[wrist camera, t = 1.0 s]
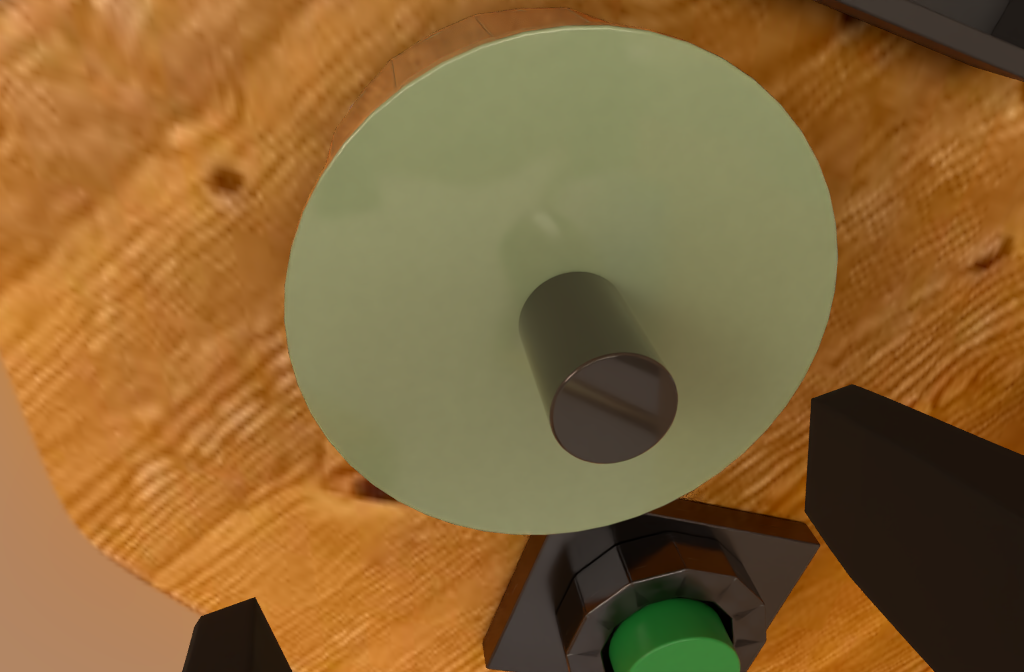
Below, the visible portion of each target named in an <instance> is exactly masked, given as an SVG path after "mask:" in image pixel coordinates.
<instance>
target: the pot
mask: <svg viewBox="0 0 1024 672" xmlns="http://www.w3.org/2000/svg"><path fill="white" fill-rule="evenodd" d="M570 22H605V23H608V22H606V21H604V20H601V19H597V18H594V17H591V16H589V15H586V14H583V13H580V12H578V11H575V10H572V9H570V8H564V7H562V8H517V9H511V10H504V11H497V12H490V13H483V14H475V15H474V16H470V17H468V18H466V19H464V20H462V21H458V22H456V23H454V24H452V25H450V26H447V27H445V28H443V29H441V30H438V31H436V32H434V33H432V34H430V35H428V36H427V37H425V38H424V39H422V40H420V41H419V42H417V43H416V44H414V45H412V46H411V47H409V48H408V49H406V50H405V51H404V52H402V53H401V54H399V55H397V56H395V57H394V58H393V59H392V60H389V61H388V63H387V64H386V65H385V67H384V68H383V69H382V70H381V71H380V72H379V73H378V75H377V76H376V77H375V78H374V79H373V80H372V81H371V82H370V83H369V84H368V86H367V87H366V88H365V89H364V90H363V91H362V92H361V94H360V95H359V97H358V98H357V100H356V101H355V103H354V104H353V106H352V107H351V109H350V110H349V112H348V113H347V115H346V116H345V117H344V119H343V120H342V121H341V122H340V124H339V125H338V126H337V127H336V129H335V132H334V134H333V137H332V141H331V145H330V149H329V153H328V157H327V161H326V163H327V162H328V160H329V159H330V158H331V156H332V155H333V153H334V152H335V150H336V149H337V147H338V146H339V144H340V143H341V142H342V140H343V139H344V137H345V136H346V135H347V134H348V133H349V132H350V131H351V130H352V129H353V128H354V126H355V125H356V124H357V123H358V122H359V121H360V120H361V119H362V118H363V117H364V116H365V114H366V113H367V112H368V111H369V110H370V109H371V108H372V107H373V106H374V105H376V104H377V103H378V102H379V101H380V100H382V99H383V98H384V97H385V96H386V95H388V94H389V93H390V92H391V91H392V90H394V89H395V88H396V87H397V86H398V85H400V84H401V83H402V82H403V81H405V80H406V79H408V78H409V77H411V76H413V75H414V74H416V73H417V72H419V71H421V70H422V69H424V68H426V67H427V66H429V65H430V64H432V63H434V62H435V61H437V60H438V59H440V58H442V57H444V56H447V55H449V54H451V53H453V52H455V51H458V50H460V49H462V48H464V47H467V46H469V45H471V44H473V43H476V42H478V41H480V40H484V39H487V38H491V37H494V36H497V35H501V34H504V33H508V32H511V31H514V30H518V29H522V28H529V27H536V26H542V25H549V24H556V23H570ZM325 165H326V164H325Z"/></svg>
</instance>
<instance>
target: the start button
mask: <svg viewBox="0 0 1024 672" xmlns="http://www.w3.org/2000/svg"><path fill="white" fill-rule="evenodd" d="M609 657H610V660H611V664H612V667H613V670H614V672H740V660H739V657H738V655H737V653H736V651H735V648H734V646H733V644H732V642H731V640H730V638H729V636H728V634H727V632H726V630H725V628H724V626H723V624H722V622H721V619H720V617H719V616H718V614H717V613H716V612H715V611H714V610H713V609H712V608H711V607H709V606H708V605H706V604H704V603H703V602H700V601H697V600H693V599H687V598H673V599H669V600H665V601H661V602H657V603H653V604H649V605H646V606H644V607H642V608H640V609H639V610H638V611H636V612H635V613H633V614H632V615H631V616H629V617H628V618H626V619H625V620H624V621H623V622H622V623H621V624H620V625H619V626H618V628H617V629H616V631H615V632H614V634H613V636H612V639H611V642H610V646H609Z"/></svg>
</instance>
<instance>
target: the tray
mask: <svg viewBox="0 0 1024 672" xmlns="http://www.w3.org/2000/svg"><path fill="white" fill-rule="evenodd" d="M813 1H816V2H818V3H820V4H823V5H825V6H828V7H830V8H833V9H835V10H837V11H840V12H842V13H845V14H847V15H850V16H852V17H854V18H857V19H859V20H862V21H864V22H867V23H869V24H871V25H874V26H876V27H879V28H881V29H884V30H886V31H888V32H891V33H893V34H896V35H898V36H901V37H903V38H905V39H908V40H910V41H913V42H915V43H918V44H920V45H922V46H925V47H927V48H930V49H932V50H935V51H937V52H939V53H942V54H944V55H947V56H949V57H952V58H954V59H956V60H959V61H961V62H964V63H966V64H969V65H971V66H973V67H976V68H979V69H983V70H986V71H989V72H993V73H996V74H999V75H1003V76H1006V77H1009V78H1013V79H1016V80H1020V81H1023V82H1024V0H813Z"/></svg>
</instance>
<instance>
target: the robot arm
mask: <svg viewBox="0 0 1024 672" xmlns="http://www.w3.org/2000/svg"><path fill="white" fill-rule="evenodd" d="M805 513H806V514H807V516H808V517H809V519H810V520H811V522H812V523H813V525H814V526H815V527H816V529H817V530H818V532H819V533H820V535H821V536H822V538H823V539H824V541H825V542H826V544H827V545H828V547H829V548H830V550H831V551H832V552H833V554H834V555H835V557H836V558H837V559H838V561H839V562H840V564H841V565H842V566H843V568H844V569H845V570H846V572H847V573H848V575H849V576H850V577H851V578H852V580H853V581H854V582H855V583H856V584H857V585H858V587H859V588H860V589H861V590H862V591H863V592H864V593H865V595H866V596H867V597H868V598H869V599H870V600H871V601H872V603H873V604H874V605H875V606H876V607H877V608H878V609H879V610H880V612H881V613H882V614H883V615H884V616H885V617H886V618H887V619H888V621H889V622H890V623H891V624H892V625H893V626H894V627H895V628H896V629H897V631H898V632H899V633H900V634H901V635H902V636H903V637H904V638H905V639H906V641H907V642H908V643H909V644H910V645H911V646H912V647H913V648H914V649H915V651H916V652H917V653H918V654H919V655H920V656H921V657H922V658H923V659H924V660H925V662H926V663H927V664H928V665H929V666H930V667H931V668H932V669H933V670H934V672H1024V455H1021V454H1019V453H1016V452H1014V451H1011V450H1009V449H1007V448H1004V447H1002V446H999V445H997V444H995V443H992V442H990V441H987V440H985V439H983V438H980V437H978V436H976V435H973V434H971V433H969V432H966V431H964V430H962V429H959V428H957V427H954V426H952V425H950V424H947V423H945V422H943V421H940V420H938V419H936V418H933V417H931V416H929V415H926V414H924V413H922V412H919V411H917V410H915V409H912V408H910V407H908V406H905V405H903V404H901V403H898V402H896V401H893V400H891V399H889V398H886V397H884V396H881V395H879V394H876V393H874V392H872V391H869V390H866V389H864V388H861V387H859V386H856V385H853V384H851V385H849V386H846V387H843V388H840V389H837V390H835V391H832V392H829V393H826V394H823V395H821V396H818V397H815V398H812V399H811V414H810V431H809V448H808V465H807V481H806V498H805ZM182 672H292V670H291V668H290V666H289V664H288V662H287V660H286V658H285V656H284V654H283V652H282V650H281V648H280V646H279V644H278V642H277V640H276V638H275V636H274V634H273V632H272V630H271V628H270V626H269V624H268V622H267V620H266V618H265V616H264V614H263V612H262V610H261V608H260V606H259V604H258V602H257V600H256V598H255V597H254V598H251V599H248V600H246V601H243V602H240V603H237V604H234V605H232V606H229V607H226V608H223V609H220V610H218V611H215V612H212V613H209V614H206V615H204V616H201V617H200V619H199V621H198V622H197V624H196V625H195V627H194V630H193V634H192V638H191V642H190V645H189V649H188V653H187V656H186V660H185V664H184V667H183V671H182Z"/></svg>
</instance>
